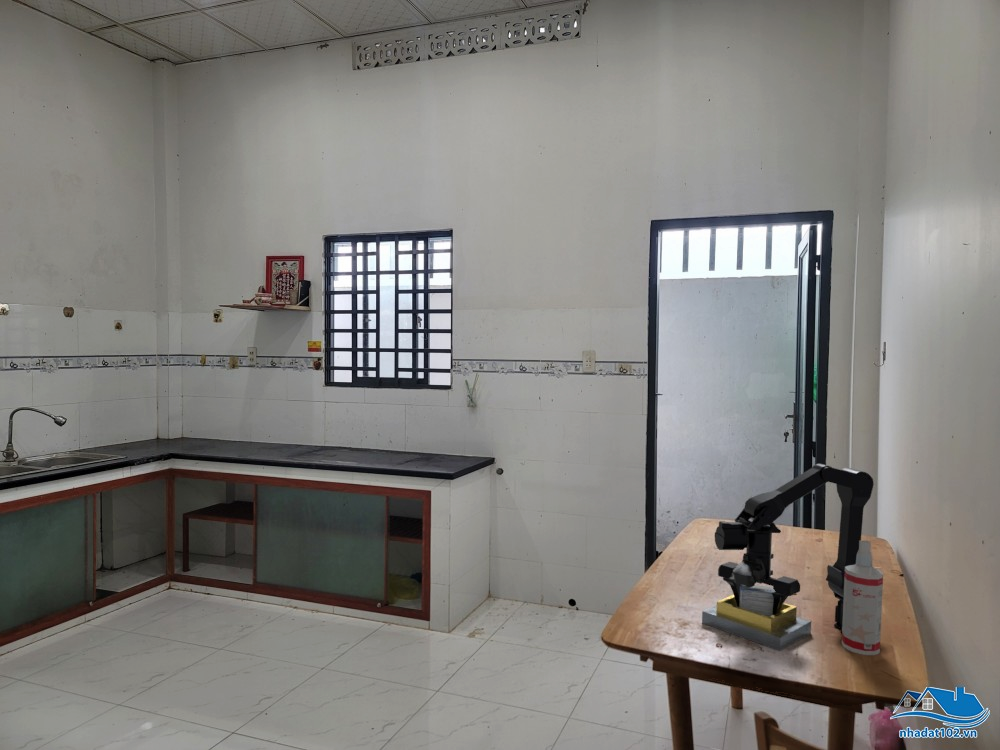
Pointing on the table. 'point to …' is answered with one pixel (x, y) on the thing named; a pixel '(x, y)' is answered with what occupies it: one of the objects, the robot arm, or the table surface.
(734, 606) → the gold and grey tray
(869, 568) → the white squeeze bottle
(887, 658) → the table surface
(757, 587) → the medicine box
